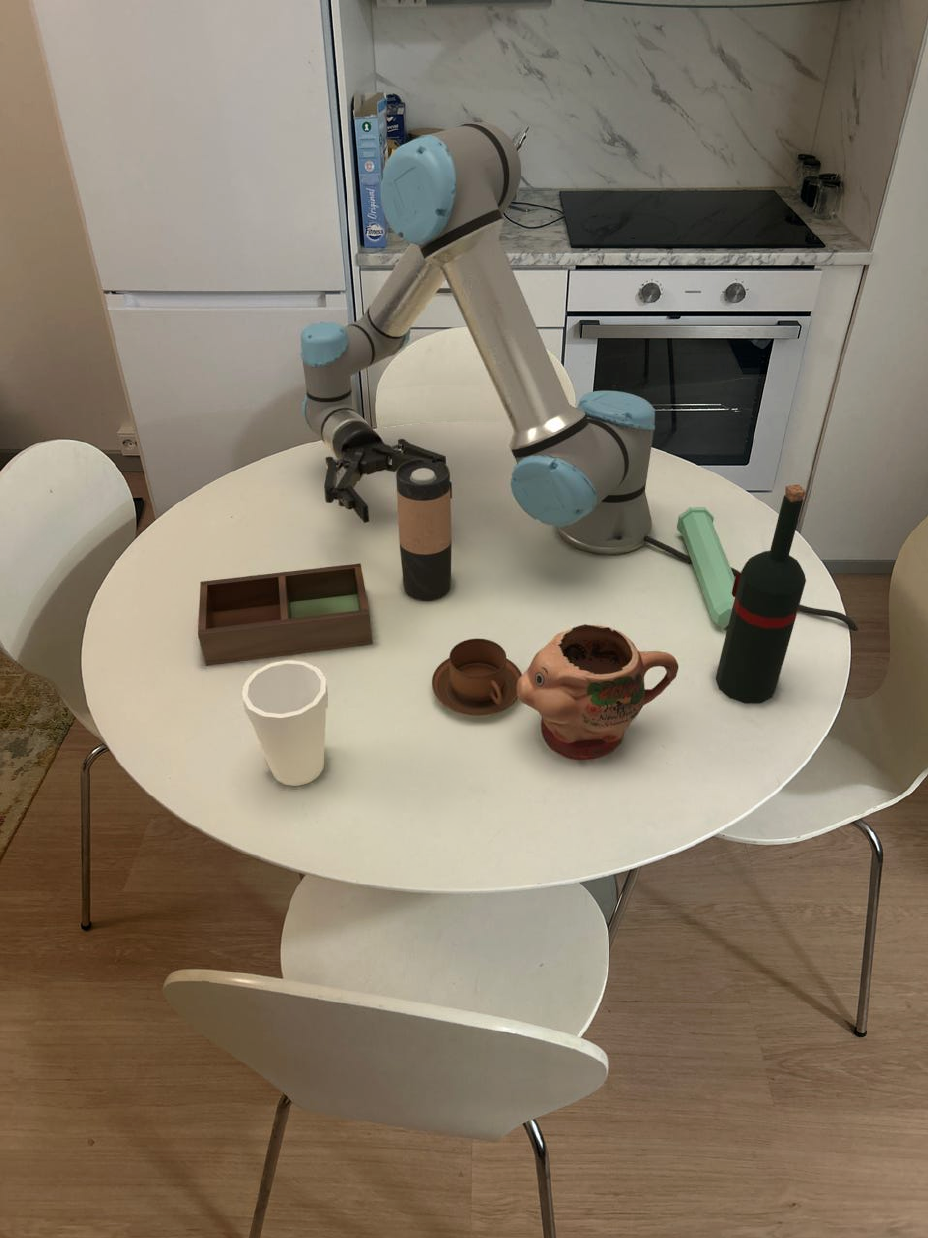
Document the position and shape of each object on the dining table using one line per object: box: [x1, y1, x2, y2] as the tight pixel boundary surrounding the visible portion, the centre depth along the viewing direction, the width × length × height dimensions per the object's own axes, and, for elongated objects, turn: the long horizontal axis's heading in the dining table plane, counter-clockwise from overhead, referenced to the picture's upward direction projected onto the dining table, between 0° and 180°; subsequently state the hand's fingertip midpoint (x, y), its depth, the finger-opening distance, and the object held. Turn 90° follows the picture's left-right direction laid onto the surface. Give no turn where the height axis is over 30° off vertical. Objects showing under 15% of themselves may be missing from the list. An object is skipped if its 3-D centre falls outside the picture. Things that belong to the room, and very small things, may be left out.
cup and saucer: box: [431, 638, 523, 717], centre depth 119 cm, size 12×12×6 cm
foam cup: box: [241, 659, 329, 787], centre depth 107 cm, size 10×9×13 cm
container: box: [676, 506, 735, 630], centre depth 138 cm, size 6×6×25 cm
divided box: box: [197, 563, 373, 666], centre depth 130 cm, size 12×23×6 cm, turn 101°
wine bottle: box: [715, 483, 807, 704], centre depth 114 cm, size 8×10×30 cm
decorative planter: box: [517, 623, 679, 761], centre depth 111 cm, size 20×12×14 cm, turn 107°
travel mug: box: [395, 459, 453, 602], centre depth 133 cm, size 8×8×20 cm
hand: (408, 502), depth 135 cm, fingers open, 13 cm apart
